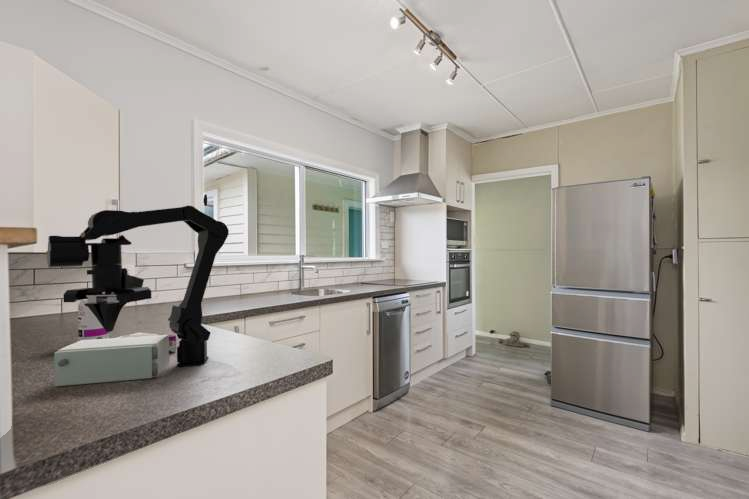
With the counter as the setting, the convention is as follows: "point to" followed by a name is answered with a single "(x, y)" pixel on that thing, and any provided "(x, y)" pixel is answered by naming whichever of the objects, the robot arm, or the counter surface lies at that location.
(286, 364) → the counter surface
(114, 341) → the cupboard
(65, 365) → the door
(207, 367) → the counter surface
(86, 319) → the supplement can
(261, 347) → the counter surface
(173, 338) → the candy bar box
